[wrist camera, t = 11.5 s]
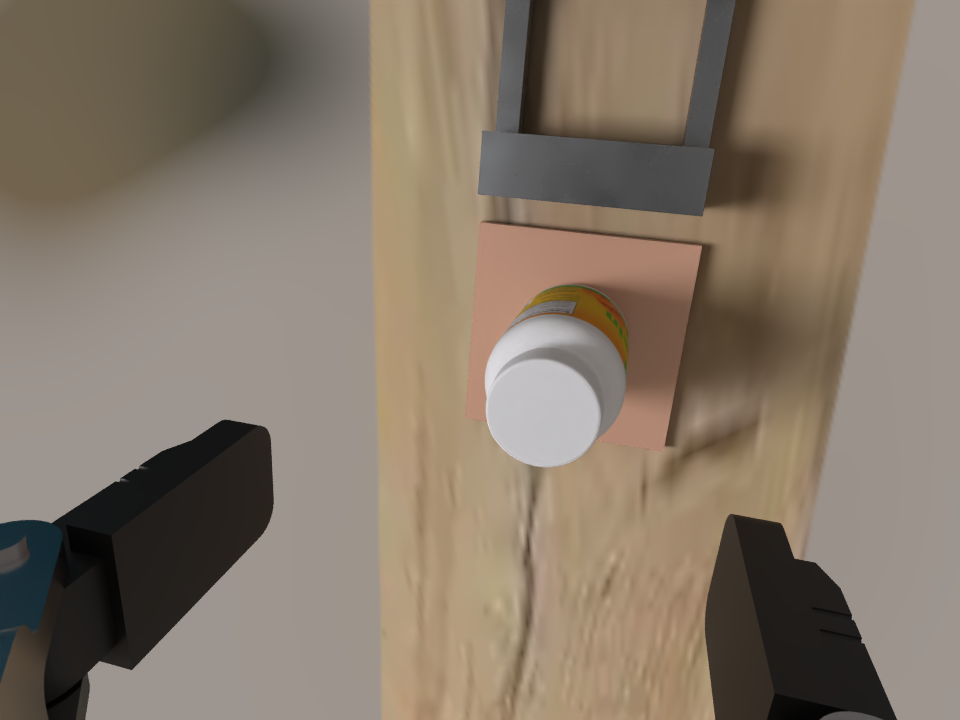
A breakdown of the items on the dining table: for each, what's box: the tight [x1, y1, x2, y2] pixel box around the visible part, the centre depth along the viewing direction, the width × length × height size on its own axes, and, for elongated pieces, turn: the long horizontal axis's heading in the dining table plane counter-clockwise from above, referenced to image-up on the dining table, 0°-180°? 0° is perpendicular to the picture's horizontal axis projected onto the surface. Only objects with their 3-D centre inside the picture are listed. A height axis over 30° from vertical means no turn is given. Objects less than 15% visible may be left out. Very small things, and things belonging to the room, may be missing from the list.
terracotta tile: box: [465, 221, 702, 451], centre depth 31 cm, size 10×10×1 cm
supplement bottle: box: [485, 284, 629, 467], centre depth 26 cm, size 5×5×10 cm
